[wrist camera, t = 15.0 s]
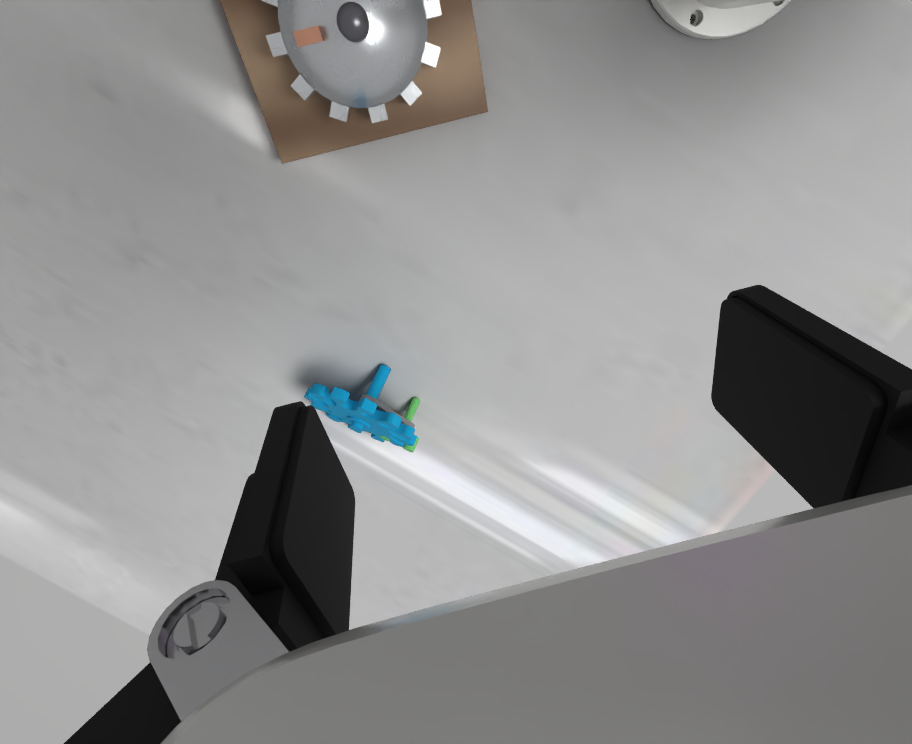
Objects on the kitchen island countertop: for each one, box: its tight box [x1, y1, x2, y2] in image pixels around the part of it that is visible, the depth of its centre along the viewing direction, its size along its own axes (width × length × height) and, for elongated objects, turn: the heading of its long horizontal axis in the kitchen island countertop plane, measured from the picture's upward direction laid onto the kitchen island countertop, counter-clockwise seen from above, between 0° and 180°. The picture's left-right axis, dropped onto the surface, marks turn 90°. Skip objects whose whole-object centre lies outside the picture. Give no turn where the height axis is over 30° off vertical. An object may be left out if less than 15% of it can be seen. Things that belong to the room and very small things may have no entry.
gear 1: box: [261, 0, 442, 123], centre depth 26 cm, size 10×10×5 cm
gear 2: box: [304, 365, 420, 452], centre depth 42 cm, size 11×6×10 cm
